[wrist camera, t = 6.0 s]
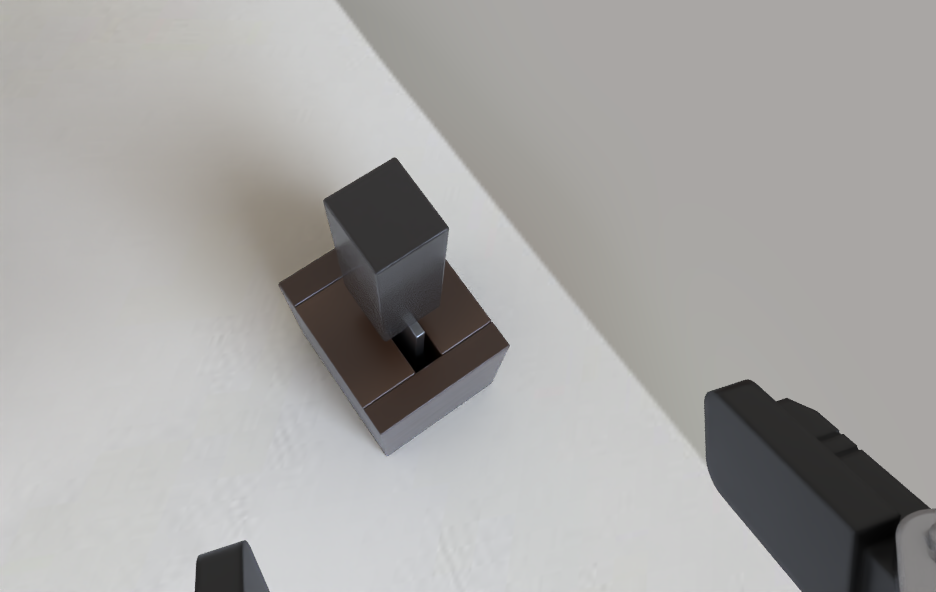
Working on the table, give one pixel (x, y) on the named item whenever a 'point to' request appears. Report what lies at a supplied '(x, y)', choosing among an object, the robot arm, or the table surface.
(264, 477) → the table surface
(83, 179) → the table surface
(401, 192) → the knife
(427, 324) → the knife block
